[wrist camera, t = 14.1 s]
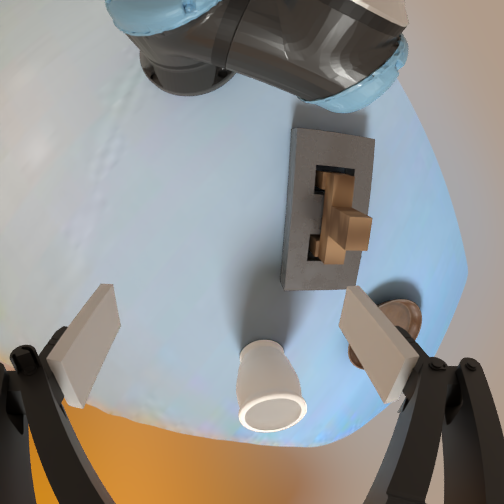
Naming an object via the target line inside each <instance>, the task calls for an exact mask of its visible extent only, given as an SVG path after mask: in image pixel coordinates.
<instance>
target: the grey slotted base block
mask: <svg viewBox="0 0 504 504" xmlns="http://www.w3.org/2000/svg"><path fill="white" fill-rule="evenodd" d="M374 147H375V139H371V138H365V137H360V136H354V135H348V134H342V133H335V132H328V131H321V130H313V129H305V128H295V129H291V143H290V160H289V176H288V191H287V205H286V218H285V230H284V242H283V254H282V265H281V276H280V282H281V284H282V287H283V289H284V291H299V290H339V289H347V286H355V285H356V280H357V275H358V270H359V264H360V259H361V253H362V251H351V250H346V253H345V259H344V264H323V262H322V261H321V260H320V259H319V258H318V257H314V255H313V254H312V253H308V247H309V238H310V234H321V226H322V217H323V207H324V197H325V192H319V191H314V186H315V174H316V165H325V166H334V167H343V168H345V174H348V175H350V176H354V177H355V181H354V191H353V201H352V208H354V209H356V210H358V211H360V212H362V213H364V214H365V215H368V207H369V199H370V191H371V182H372V171H373V160H374Z"/></svg>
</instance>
